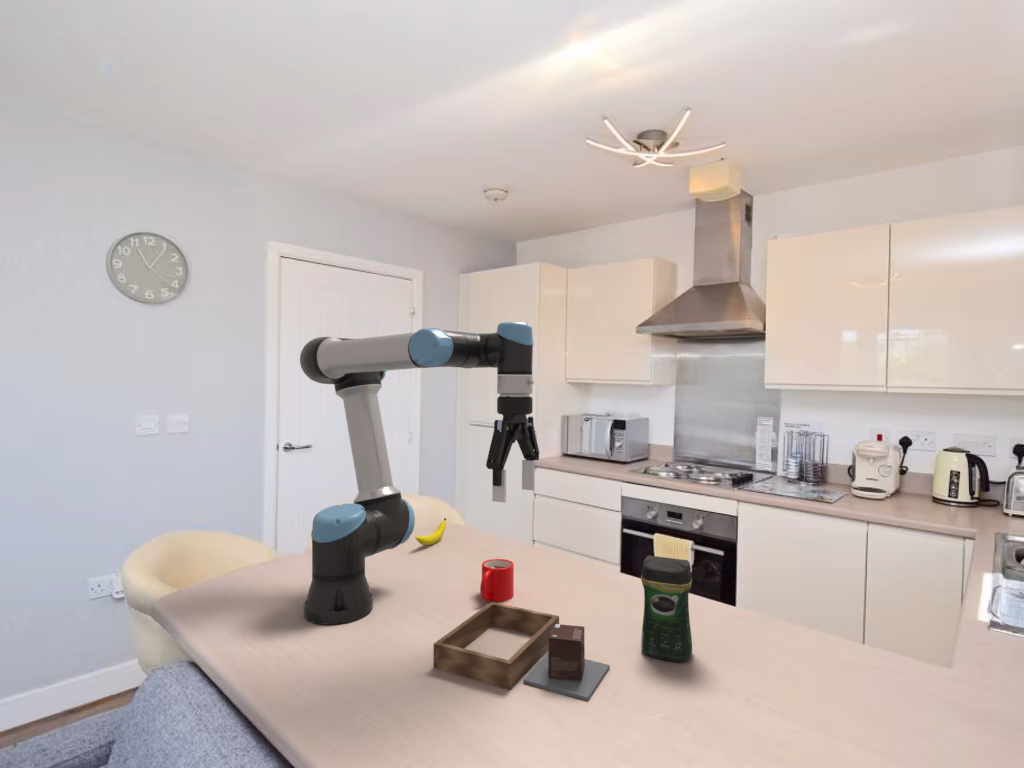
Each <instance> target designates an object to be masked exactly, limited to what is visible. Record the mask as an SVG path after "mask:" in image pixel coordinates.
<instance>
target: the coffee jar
mask: <svg viewBox="0 0 1024 768" xmlns="http://www.w3.org/2000/svg"><path fill="white" fill-rule="evenodd" d="M691 569H692V568H691V564H690V561H689V560H688V559H679V558H671V557H665V556H655V555H647V557H645V559H644V560H643V563H642V568H641V576H640V579H641V584H642V586H643V587H642V588H643V591H644V592H643V593H644V598H643V599H644V603H643V604H644V605H643V616H642V617H643V618H642V628H641V637H640V638H641V640H640V642H641V643H640V645H641V646H640V648H641V651H642V652H643V653H644V654H645V655H647V656H648V657H653V658H656V659H658V660H659V659H660V660H665V661H666V660H667V661H672V662H680V663H682V662H685V661H687V660H689V659H690V658H691V656H692V654H693V638H692V629H691V622H690V610H689V609H690V608H689V607H690V606H689V594H690V590H691V588H692V585H693V578H692V577H693V576H692V570H691Z"/></svg>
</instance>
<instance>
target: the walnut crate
mask: <svg viewBox="0 0 1024 768" xmlns="http://www.w3.org/2000/svg"><path fill="white" fill-rule="evenodd" d="M553 624H560V616H559V615H557V614H556V615H554V614H551V613H546V612H541V611H536V610H531V609H527V608H523V607H519V606H518V607H517V606H514V605H509V604H503V603H500V602H493V601H490V602H489V603H488V604H486V605H485V606H484V607H482V608H481V609H480V610H478V611H477V612H476V613H474V614H473V615H471V616H470V617H468V618H467V619H466V620H464V621H463V622H461V623H460V624H459V625H458V626H455V628H453V629H452V630H450V631H449V632H448V633H447V634H445V635H444V636H442V637H441V638H439V639H438V640H437V641H435V642H434V643H433V669H437V670H440V671H444V672H446V673H451V674H454V675H457V676H461V677H464V678H467V679H472V680H474V681H477V682H481V683H484V684H489V685H492V686H496V687H499V688H502V689H506V690H510V691H511V690H512V689H513V688H514V687H515V686H516V685H517V683H518V682H520V680H521V679H522V678H524V676H525V675H526V674H527V672H529V671H530V669H531V668H532V667H533V666H534V665H535V664H536V663H537V662H538V661H539V660H540V659H541V658H542V657H543V656H544V654H545V653H547V651H548V637H549V635H550V631H551V629H552V626H553ZM493 626H497V627H501V628H505V629H509V630H515V631H518V632H523V633H526V634H530V635H532V636H531V637H530V638H529V639H528V640H527V641H526V642H525V643H524V644H523V645H522V646H521V647H520V648H518V649H517V651H515V653H514V654H513V655H511V656H510V658H509V659H505V658H501V657H497V656H494V655H490V654H486V653H482V652H479V651H475V650H471V649H467V648H466V647H467V646H469V645H470V644H471V643H473V642H474V641H476V639H478V638H479V637H480V636H481V635H483V634H484V633H485V632H486V631H488V630H489V629H490V628H491V627H493Z"/></svg>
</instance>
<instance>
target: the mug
mask: <svg viewBox="0 0 1024 768" xmlns="http://www.w3.org/2000/svg"><path fill="white" fill-rule="evenodd" d="M514 570H515V566H514V562H513V561H512V560H509V559H505V558H491V559H487V560H484V561H483V562H482V563H481V581H480V591H479V592H480V596H481V598H482V600H483V601H485V602H495V603H500V602H507V601H510V600H512V599H513V598H514V594H515V593H514V587H515V586H514V584H515V581H514V578H515V576H514V574H515V571H514Z"/></svg>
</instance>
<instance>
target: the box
mask: <svg viewBox="0 0 1024 768" xmlns="http://www.w3.org/2000/svg"><path fill="white" fill-rule="evenodd" d="M547 651H548V652H547V653H548V677H549V678H556V679H565V680H574V681H582V677H583V672H584V666H585V659H586V658H585V655H586V654H585V626H582V625H580V626H579V625H572V624H571V625H570V624H560V623H559V624H553V626H552V629H551V631H550V635H549V637H548V650H547Z"/></svg>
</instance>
